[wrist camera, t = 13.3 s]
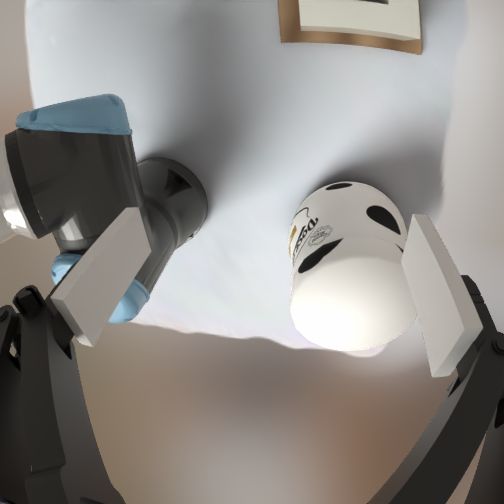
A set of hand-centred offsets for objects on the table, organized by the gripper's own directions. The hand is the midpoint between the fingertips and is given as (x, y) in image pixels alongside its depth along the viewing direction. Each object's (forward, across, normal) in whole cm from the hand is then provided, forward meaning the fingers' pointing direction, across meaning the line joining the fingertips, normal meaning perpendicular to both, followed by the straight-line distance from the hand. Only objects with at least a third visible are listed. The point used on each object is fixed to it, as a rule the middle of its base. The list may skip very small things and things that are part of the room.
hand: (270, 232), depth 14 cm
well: (+28, +8, +18) cm, 34 cm away
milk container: (+29, +8, -17) cm, 34 cm away
